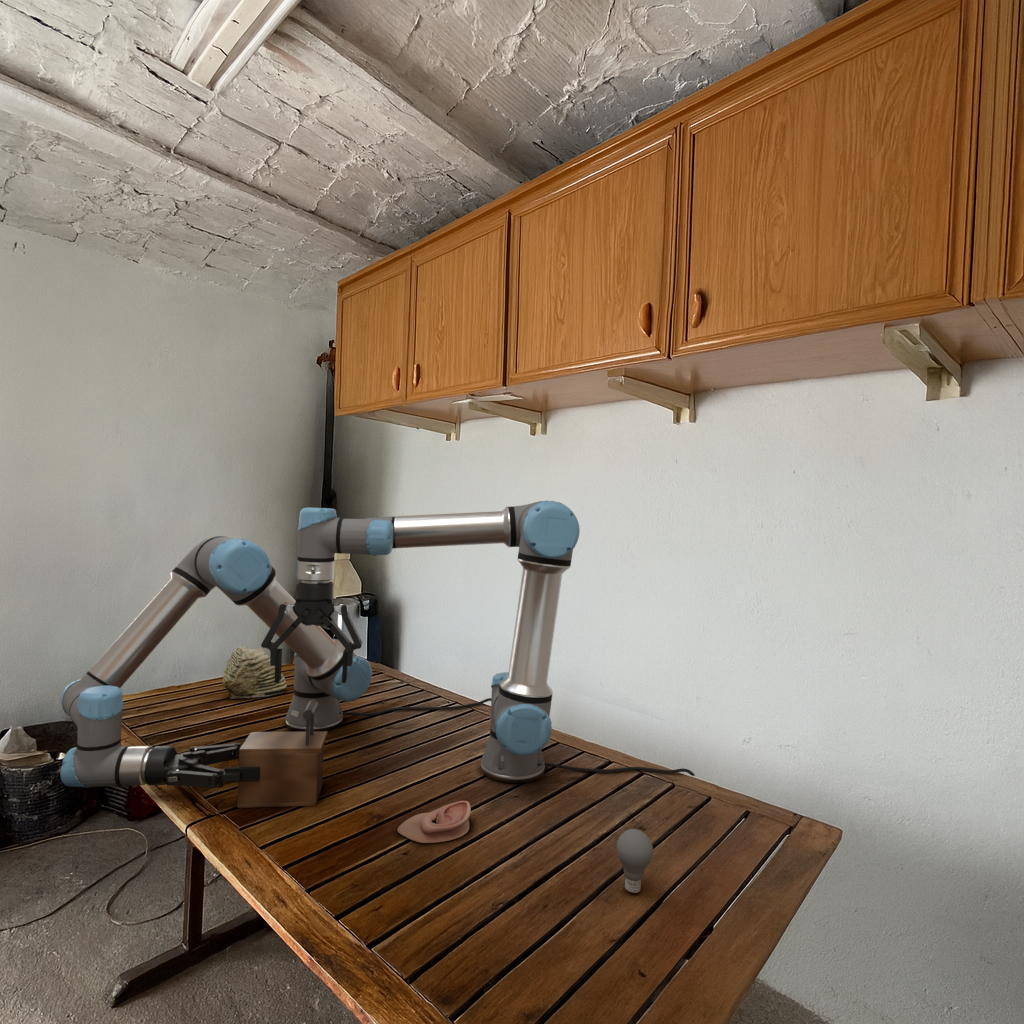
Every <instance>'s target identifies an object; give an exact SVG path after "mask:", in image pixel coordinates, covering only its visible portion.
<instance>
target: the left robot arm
mask: <svg viewBox="0 0 1024 1024" xmlns="http://www.w3.org/2000/svg"><path fill="white" fill-rule="evenodd" d="M276 579H277V570H276V569H275V568H274V567H273V566H272V564H271V561H270V558H269V555H268V553H267V552H266V551H265V549H264V548H262V547H261V546H260V545H258V544H257V543H256V542H253V541H250V540H248V539H244V538H234V537H228V536H224V535H215V536H211V537H208V538H205V539H204V540H203V539H202V540H201V541H200V542H199V543H197V544H196V545H195V546H194V547H192V549H191V550H190V551H189V552H188V553H187V554H186V555H185V556H184V557H183V558H182V559H181V560H180V562H179V563H178V564H177V565H176V566H175V567H174V568H173V569H172V571H171V572H170V580H168V582H167V583H166V584H165V585H164V586H163V587H162V588H161V590H160V591H159V592H157V594H156V595H155V596H154V597H153V599H152V600H150V602H149V603H148V604H147V605H146V606H145V607H144V609H142V611H141V612H140V613H139V614H138V615H137V616H136V617H135V618H134V620H133V621H132V622H131V623H130V624H129V625H128V626H127V627H126V629H125V630H124V631H123V632H122V633H121V634H120V635H119V636H118V638H116V640H115V641H114V642H113V643H111V645H110V646H109V648H108V649H106V651H105V652H104V653H103V654H102V655H101V656H100V658H99V659H98V660H97V661H96V662H95V663H94V664H93V666H92V667H91V668H90V669H89V670H88V671H87V672H86V673H84V674H83V676H81V678H80V679H77V680H74V681H72V682H70V683H69V684H67V685H66V686H65V687H64V688H63V690H62V692H61V694H60V700H59V701H60V705H61V707H62V710H63V712H64V713H65V714H66V715H67V716H68V717H69V718H70V719H71V720H72V722H73V723H74V724H75V725H76V726H77V728H76V729H77V743H76V747H73V748H70V749H69V750H68V751H67V752H66V753H65V755H64V757H63V759H62V761H61V762H62V765H61V767H60V770H59V771H60V772H59V774H60V776H59V777H60V780H61V782H62V783H63V785H64V786H66V787H69V788H70V787H71V788H72V787H75V788H86V789H89V788H102V787H131V788H137V787H138V786H145V785H147V786H167V787H172V786H185V787H192V788H193V787H195V788H205V789H216V788H217V789H221V788H223V787H224V783H238V782H258V781H259V777H260V767H239V766H226V767H225V768H224V769H221V768H217V767H214V766H213V767H212V766H210V765H215V764H219V763H225V762H229V761H235V760H237V761H238V762H239V749H240V748H241V742H234V743H224V744H223V743H222V744H214V745H203V746H197V745H194V746H193V745H192V746H190V747H189V751H185V752H181V753H178V752H177V750H176V748H175V746H173V745H155V746H154V747H153V746H152V745H133V746H131V745H130V746H123V745H122V730H123V729H122V728H123V709H124V700H123V690H122V687H123V686H124V684H126V682H127V681H128V680H129V679H130V677H132V675H134V673H135V672H136V671H137V670H138V668H139V667H140V666H141V665H143V663H144V662H145V660H146V659H147V658H149V656H150V655H151V654H152V653H153V651H154V650H155V649H156V648H157V647H158V646H159V644H160V643H161V642H162V641H163V640H164V639H165V637H166V636H167V635H168V634H169V633H170V631H172V630H173V628H174V627H175V626H176V625H177V624H178V623H179V621H180V620H181V619H182V618H184V616H185V615H186V613H187V612H188V611H189V610H190V609H191V608H192V607H193V605H194V604H195V603H196V602H197V601H198V600H199V599H201V598H206V597H207V596H208V595H209V593H210V592H211V591H212V590H214V589H215V588H218V589H219V590H220V591H221V592H222V593H223V594H224V595H225V596H226V597H227V598H228V599H229V600H230V601H232V603H233V604H234V605H236V606H237V607H240V606H247V607H248V608H249V609H250V610H251V612H253V614H255V615H256V616H257V617H258V618H259V619H260V620H261V621H262V622H263V623H264V624H265V625H266V626H267V627H268V628H269V629H270V628H271V626H272V624H273V623H274V621H275V619H276V617H277V616H278V612H279V606H280V605H281V604H282V603H283V602H286V603H287V604H292V605H294V604H295V602H296V599H295V598H294V597H293V596H292V595H290V593H289V592H288V591H287V590H286V589H285V588H284V587H283V586H282V585H281V583H279V582H278V581H277V580H276ZM297 618H298V617H297V616H296V614H295V613H294V611H293V610H291V611H290V612H289V613H288V614H286V615H285V617H284V619H283V621H282V623H281V624H280V626H279V628H278V630H277V631H276V633H275V635H276V636H277V637H278V638H279V637H280V636H281V635H282V634H283V633H284V632H285V631H286V630H287V629H288V628H289V627H290V625H291V624H292V623H293V622H294V621H295V620H296V619H297ZM283 643H284V644H286V645H287V647H288V648H290V650H292V652H294V655H293V657H294V672H293V695H292V696H293V697H292V699H291V702H290V704H289V708H288V711H287V713H286V715H285V726H286V728H287V729H289V730H291V731H294V732H306V719H304V717H303V713H304V711H305V709H306V707H307V705H308V703H309V701H311V700H316V701H317V702H318V707H317V709H316V711H315V713H314V731H329V730H332V729H335V728H337V727H339V726H340V725H342V723H343V722H344V716H362V717H371V716H378V715H383V714H387V713H389V712H394V711H447V710H450V711H451V710H457V709H458V710H459V709H464V708H471V707H475V706H480V705H482V704H484V703H487V702H491V698H492V697H489V698H485V699H482V700H480V701H477V702H478V703H477V702H472V703H468V704H467V703H466V704H462V705H453V706H397V707H391V708H386V709H383V710H380V711H375V712H352V711H351V712H350V711H343V709H342V706H341V702H340V701H342V702H345V703H350V702H353V701H357V700H358V699H360V698H361V697H362V696H364V694H365V693H366V692H367V690H368V689H369V687H370V685H371V682H372V676H373V669H372V668H373V667H372V666H371V664H370V662H369V661H368V660H367V659H366V658H365V657H363V656H359V655H357V654H356V653H355V652H353V663H352V666H347V681H346V683H342V668H343V651H344V649H346V648H345V647H344V646H343V645H342V644H341V642H340V641H339V640H338V639H337V638H332V637H331V636H330V635H329V634H328V633H327V632H326V631H325V630H324V628H322V626H316V625H310V626H305V625H304V624H302V623H300V624H299V625H298V627H297V628H296V629H295V630H294V631H293V632H292V633H291V634H290V635H289V636H288V637H287V638H286V639H285V640H284V642H283Z"/></svg>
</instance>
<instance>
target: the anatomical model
mask: <svg viewBox="0 0 1024 1024" xmlns="http://www.w3.org/2000/svg"><path fill="white" fill-rule="evenodd" d="M471 813H472V808H471V804H470V802H469V801H468V800H459V801H454V802H451V803H449V804H446V805H442V806H441V807H439V808H436V809H434V810H432V811H429V812H421V813H417V814H415V815H413V816H411V817H409V818H407V819H406V820H405V821H403V822H402V823H401V824H400V825H399V826H398V827H397V829H396V830H397V833H398V834H400V835H401V836H403V837H404V838H406V839H408V840H410V841H414V842H416V843H419V844H434V843H443V842H448V841H452V840H456V839H459V838H461V837H463V836H465V835H466V834H467V833H469V830H470V821H469V819H470V817H471Z"/></svg>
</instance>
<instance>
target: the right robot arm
mask: <svg viewBox="0 0 1024 1024" xmlns="http://www.w3.org/2000/svg"><path fill="white" fill-rule="evenodd" d="M298 518H299V519H298V528H297V560H296V562H297V563H296V579H297V580H298V581H297V582H296V583H295V601H296V602H295V604H294V605H292V604H287V603H286V602H283V603H282V604H281V605H280V606H279V612H278V616H277V617H276V619H275V621H274V623H273V624H272V626H271V628H269V630H268V632H267V633H266V635H265V637H264V639H263V641H262V642H261V644H260V646H261V649H267V650H269V654H270V655H269V658H270V665H271V666H275V683H279V681H280V680H281V673H282V664H283V663H282V661H283V648H279V647H280V646H281V645H282V644H283V643H285V642H284V640H285V639H286V638H287V637H288V636H289V635H290V634H291V633H292V632H293V631H294V630H295V629H296V628H297V627H298V625H299V624H300V623H302V624H304V625H305V626H310V625H316V626H320V627H322V626H323V625H324V626H326V628H327V629H329V631H330V632H331V633H332V634H333V635H334V637H335V639H338V640H339V641H340V642H341V644H342V645H343V646H344V647H345V648H346V649H344V651H343V668H342V683H346V681H347V666H352V663H353V653H354V651H355V650H358V649H361V648H362V646H363V641H362V639H361V636H360V635H359V633H358V630H357V628H356V626H355V624H354V622H353V619H352V618H351V616H350V613H349V605H348V603H346V602H345V603H342V604H337V605H336V604H334V585H335V584H334V582H333V580H334V579H335V562H336V561H335V558H336V557H335V555H336V554H339V555H341V554H345V555H363V556H364V555H365V556H366V555H367V556H372V557H377V556H388V555H390V554H391V553H392V551H393V549H410V548H412V549H413V548H430V547H431V548H432V547H452V546H453V547H454V546H455V547H456V546H475V545H496V544H497V545H498V544H503V545H505V546H506V547H507V548H518V553H517V561H518V562H519V564H520V565H521V567H522V573H521V575H522V576H521V582H520V589H519V595H518V602H517V610H516V616H515V617H516V618H515V623H514V632H513V637H512V645H511V653H510V660H509V667H508V671H505V672H498V673H496V674H494V675H493V676H492V680H491V681H492V683H491V685H490V688H491V697H490V698H491V701H490V702H491V703H490V721H489V723H490V724H489V736H488V741H487V743H486V745H485V749H484V751H483V754H482V755H481V756H482V757H481V760H480V771H481V772H482V774H483V775H485V776H486V777H487V778H489V779H491V780H494V781H497V782H500V783H506V784H524V783H530V782H533V781H536V780H538V779H540V778H542V777H543V776H544V774H545V768H546V767H549V768H556V769H563V770H569V771H575V772H585V773H620V772H625V771H644V772H645V771H646V772H653V773H661V774H677V773H688V774H689V775H690V776H692V777H694V776H696V775H695V773H694V772H693V771H692V770H690V769H688V768H682V767H681V768H676V769H663V768H662V769H661V768H654V767H645V766H626V767H618V768H585V767H576V766H569V765H565V764H564V765H563V764H559V763H558V764H557V763H551V762H545V758H544V754H543V751H542V750H543V749H544V748H545V747H546V746H547V744H548V743H549V741H550V739H551V736H552V730H553V726H552V724H553V723H552V721H551V718H550V716H551V715H550V714H551V709H552V700H553V694H554V691H553V689H552V687H551V686H550V685H549V683H548V678H549V672H550V665H551V657H552V650H553V644H554V636H555V630H556V622H557V615H558V607H559V600H560V593H561V587H562V579H563V574H564V573H565V572H566V571H568V570H569V569H570V568H571V566H572V559H573V554H574V553H573V552H574V549H575V548H576V546H577V543H578V541H579V538H580V531H581V530H580V529H581V528H580V524H579V520H578V517H577V515H576V514H575V512H574V511H573V510H572V509H571V508H570V507H568V506H567V505H566V504H563V503H562V502H560V501H559V502H558V501H555V500H539V501H536V502H532V503H527V504H522V505H514V506H505V508H504V509H502V510H497V511H476V512H475V511H474V512H458V513H457V512H455V513H435V514H414V515H395V516H376V515H375V516H368V517H365V518H344V517H338V515H337V510H336V509H335V508H331V507H329V508H328V507H304V508H302V509H301V510H300V511H299V517H298ZM291 610H293V611H294V613H295V614H296V616H297V617H298V618H297V619H296V620H295V621H294V622H293V623H292V624H291V625H290V627H289V628H288V629H287V630H286V631H285V632H284V633H283V634H282V635H281V636H280V637H278V638H277V639H276V640H275V641H274V642H273V639H274V637H275V635H276V634H275V633H276V631H277V630H278V628H279V626H280V624H281V623H282V621H283V619H284V617H285V615H286V614H288V613H289V612H290V611H291ZM334 612H337V615H339V616H341V619H342V621H343V623H344V625H345V627H346V629H347V631H348V633H349V636H350V638H351V640H352V641H351V640H350V639H349V637H347V635H346V634H345V633H344V631H343V630H342V629H341V628H340V627H339V625H338V624H337V623H336V622H335V620H334V619H333V617H332V615H333V613H334Z"/></svg>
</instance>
